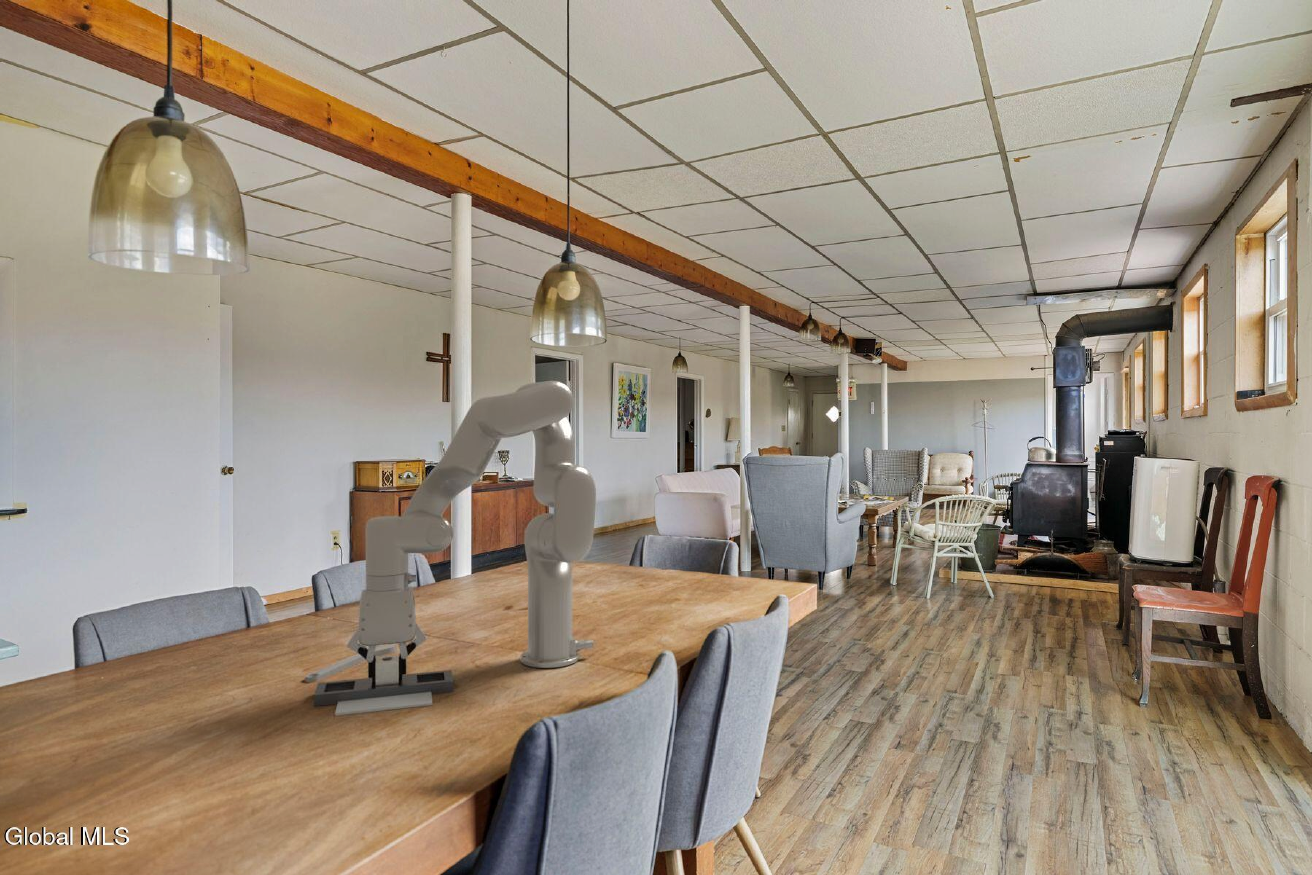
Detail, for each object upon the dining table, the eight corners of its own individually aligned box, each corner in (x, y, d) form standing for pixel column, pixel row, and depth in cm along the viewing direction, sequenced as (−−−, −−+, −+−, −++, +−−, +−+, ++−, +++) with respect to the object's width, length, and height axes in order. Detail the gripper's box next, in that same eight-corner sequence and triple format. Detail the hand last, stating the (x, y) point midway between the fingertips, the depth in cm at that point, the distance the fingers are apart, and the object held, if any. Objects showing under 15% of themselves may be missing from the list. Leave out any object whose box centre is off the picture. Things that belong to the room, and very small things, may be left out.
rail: (451, 679, 143) (451, 669, 143) (453, 691, 136) (453, 680, 136) (318, 693, 135) (318, 682, 135) (313, 706, 128) (313, 695, 128)
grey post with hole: (398, 686, 138) (398, 654, 138) (398, 692, 134) (398, 659, 135) (376, 688, 137) (376, 656, 137) (375, 695, 133) (375, 662, 133)
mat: (431, 693, 135) (431, 691, 135) (432, 704, 129) (432, 702, 129) (338, 703, 130) (338, 701, 130) (334, 715, 124) (334, 713, 124)
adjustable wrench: (313, 686, 141) (313, 676, 141) (288, 682, 143) (288, 673, 143) (400, 650, 164) (400, 642, 164) (378, 647, 167) (378, 640, 167)
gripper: (433, 576, 142) (433, 669, 142) (340, 581, 137) (340, 678, 137) (434, 583, 135) (434, 681, 135) (337, 589, 130) (337, 691, 129)
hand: (387, 678), depth 136 cm, fingers closed on grey post with hole, 4 cm apart
